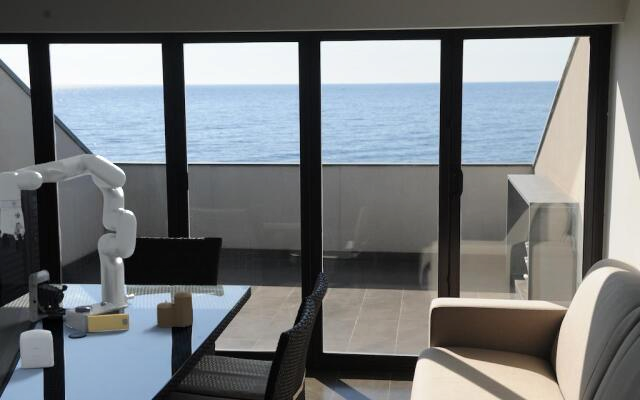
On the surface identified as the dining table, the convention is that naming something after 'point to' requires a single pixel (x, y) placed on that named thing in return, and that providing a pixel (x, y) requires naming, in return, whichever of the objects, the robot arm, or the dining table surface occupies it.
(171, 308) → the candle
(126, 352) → the dining table surface
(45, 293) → the vintage camera
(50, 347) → the photo printer
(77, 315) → the aluminium camera mock-up
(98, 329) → the ochre side door
